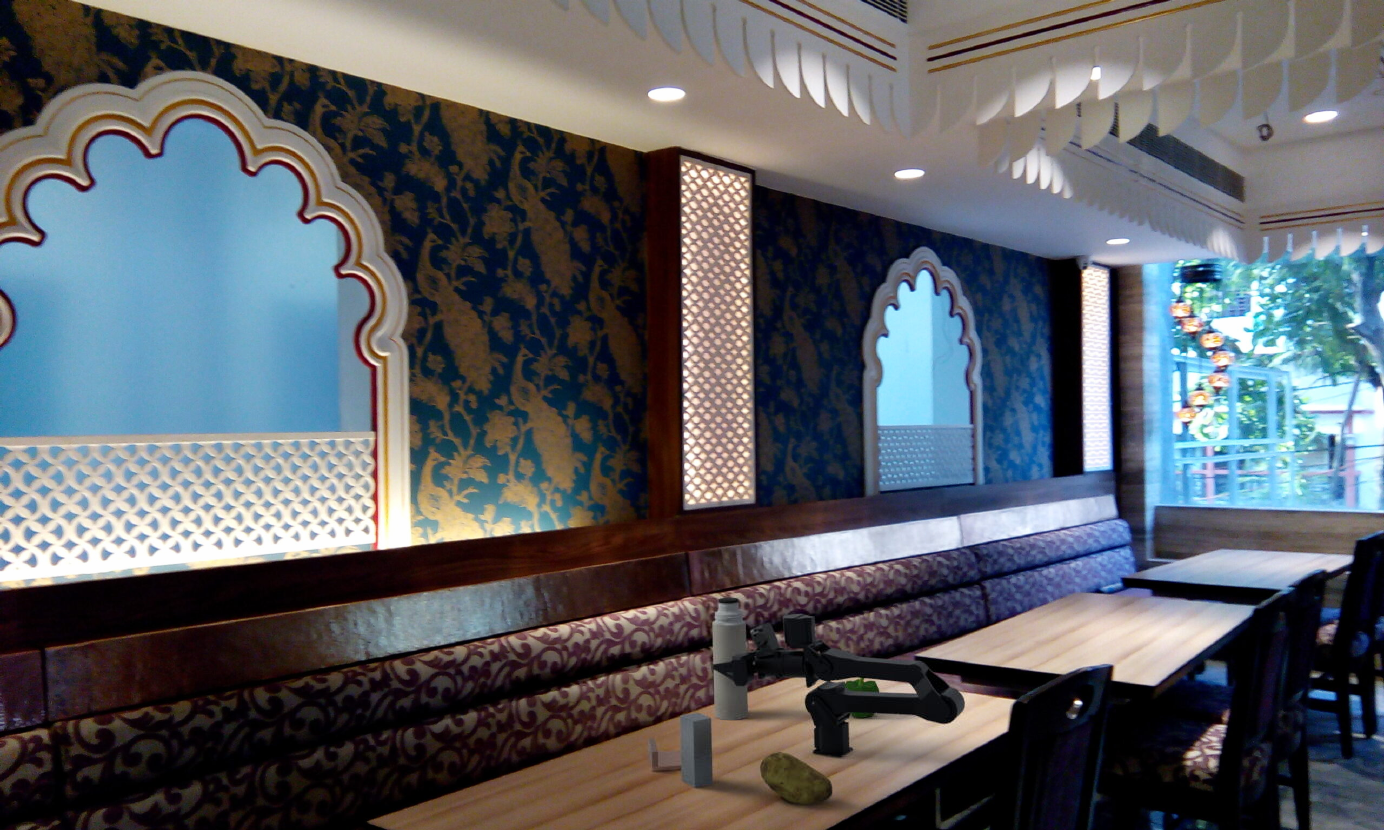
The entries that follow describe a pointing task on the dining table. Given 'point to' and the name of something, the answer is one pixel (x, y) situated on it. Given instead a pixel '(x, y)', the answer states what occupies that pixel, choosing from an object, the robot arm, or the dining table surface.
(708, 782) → the block
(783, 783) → the potato
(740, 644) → the thermos bottle
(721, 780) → the dining table surface
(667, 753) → the plate
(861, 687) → the bell pepper
